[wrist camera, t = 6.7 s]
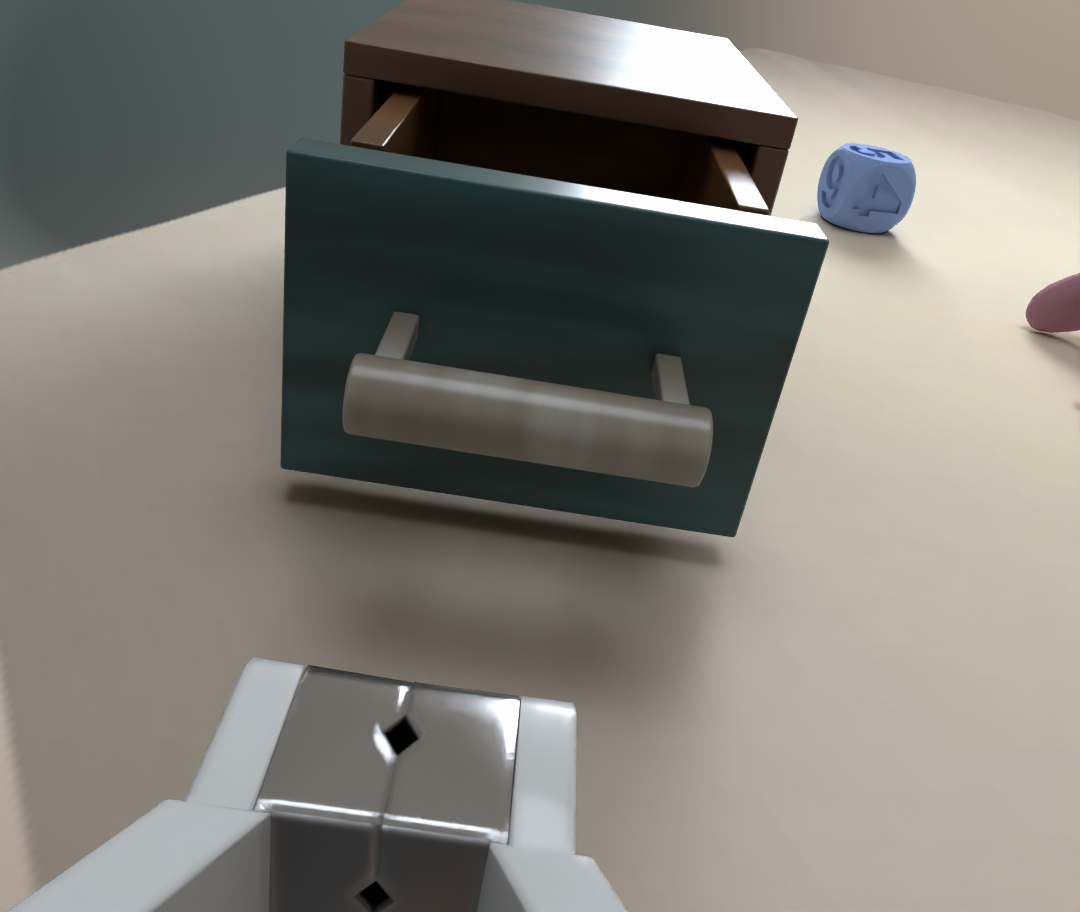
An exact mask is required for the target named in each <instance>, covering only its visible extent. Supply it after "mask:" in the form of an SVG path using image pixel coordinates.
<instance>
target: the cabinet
mask: <svg viewBox="0 0 1080 912" xmlns="http://www.w3.org/2000/svg"><path fill="white" fill-rule="evenodd" d="M343 72H344V74H345V75H344V77H343V95H342V114H341V138H340V144H342V145H348V146H350V141H351V139H352V138H353V137H354V136H355V135H356V134H357V133H358V132H359V131H360V129H361V128H362V127H363V126H364V125H365V124H366V123H367V122H368V121H369V119H370V118H371V117H372V116H373V115H374V114H375V113H376V112H377V111H378V110H379V108H380V107H381V106H382V105H383V104H384V103H385V102H386V101H387V100H388V99H389V97H390V96H391V95H392V94H393V93H394V92H395V91H396V90H397V89H398V88H399V86H400V85H401V84H406V85H412V86H418V87H424V88H430V89H436V90H442V91H447V92H453V93H459V94H465V95H471V96H477V97H483V98H488V99H494V100H500V101H506V102H512V103H518V104H524V105H529V106H535V107H541V108H547V109H553V110H559V111H565V112H570V113H576V114H582V115H588V116H594V117H600V118H606V119H611V120H617V121H623V122H629V123H635V124H641V125H647V126H652V127H658V128H664V129H670V130H676V131H682V132H688V133H693V134H699V135H705V136H711V137H717V138H723V139H728V140H731V142H732V143H733V145H734V147H735V149H736V151H737V152H738V154H739V156H740V158H741V160H742V162H743V163H744V165H745V167H746V169H747V171H748V172H749V174H750V176H751V178H752V180H753V181H754V183H755V185H756V187H757V189H758V191H759V192H760V194H761V196H762V198H763V200H764V201H765V203H766V205H767V207H768V209H769V212H770V213H769V216H771V212H772V209H773V205H774V202H775V198H776V195H777V191H778V188H779V184H780V181H781V177H782V174H783V170H784V167H785V163H786V159H787V156H788V149H789V148H790V146H791V142H792V139H793V135H794V132H795V128H796V125H797V121H798V118H797V117H796V116H795V114H794V113H793V112H792V111H791V110H790V109H789V108H788V107H787V105H786V104H785V103H784V102H783V101H782V100H781V99H780V98H779V96H778V95H777V94H776V93H775V92H774V91H773V90H772V88H771V87H770V86H769V85H768V84H767V83H766V82H765V81H764V79H763V78H762V77H761V76H760V75H759V74H758V73H757V71H756V70H755V69H754V68H753V67H752V66H751V65H750V64H749V62H748V61H747V60H746V59H745V58H744V57H743V56H742V55H741V53H740V52H739V51H738V50H737V49H736V48H735V47H734V46H733V44H732V43H731V42H730V41H729V40H728V39H727V38H720V37H715V36H709V35H704V34H698V33H691V32H686V31H681V30H675V29H669V28H664V27H658V26H652V25H647V24H641V23H635V22H629V21H624V20H618V19H612V18H606V17H601V16H595V15H590V14H583V13H578V12H573V11H567V10H561V9H555V8H550V7H544V6H538V5H532V4H527V3H521V2H515V1H510V0H405V1H404V2H402V3H401V4H399V5H398V6H397V7H395V8H393V9H392V10H390V11H389V12H387V13H386V14H384V15H383V16H381V17H380V18H378V19H377V20H375V21H374V22H372V23H371V24H369V25H368V26H366V27H365V28H363V29H361V30H360V31H358V32H357V33H355V34H354V35H352V36H351V37H349V38H348V39H347V40H345V45H344V67H343Z"/></svg>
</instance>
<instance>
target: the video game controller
mask: <svg viewBox="0 0 1080 912" xmlns="http://www.w3.org/2000/svg"><path fill="white" fill-rule="evenodd" d="M1026 318H1027V321H1028V323H1029V324H1030V326H1031V327H1032V328H1034V329H1036V330H1039V331H1045V332H1051V333H1052V332H1070V331H1077V330H1080V273H1078V274H1075V275H1072V276H1069V277H1067V278H1064V279H1062V280H1060V281H1057V282H1055V283H1052V284H1050V285H1048V286H1047V287H1045V288H1044V289H1043V290H1041V291H1040V292H1039V293H1037V294H1036V295H1035V296H1034V297H1033V298H1032V300H1031V302H1030V303H1029V305H1028V307H1027V310H1026Z"/></svg>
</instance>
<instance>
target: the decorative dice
mask: <svg viewBox="0 0 1080 912" xmlns="http://www.w3.org/2000/svg"><path fill="white" fill-rule="evenodd" d="M915 185H916V175H915V169H914V166H913V164H912V162H911V160H910V159H909V158H908V157H906V156H904V155H902V154H899V153H897V152H894V151H891V150H887V149H884V148H879V147H875V146H870V145H864V144H845V145H843V146H841V147H840V148H838V149H837V150H836V151H835V152H833V153H832V154H831V155H830V157H829V158H828V160H827V161H826V163H825V165H824V167H823V170H822V173H821V176H820V180H819V185H818V194H817V199H818V207H819V210H820V213H821V215H822V216H823V218H824V219H826V220H827V221H829V222H831V223H833V224H835V225H838V226H840V227H843V228H847V229H850V230H854V231H859V232H865V233H884V232H886V231H888V230H889V229H891V228H893V227H894V226H895V225H897V224H898V223H899V222H900V221H901V220H902V219H903V218H904V216H905V215H906V213H907V212H908V210H909V208H910V205H911V203H912V200H913V197H914V192H915Z"/></svg>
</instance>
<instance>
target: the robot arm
mask: <svg viewBox="0 0 1080 912" xmlns="http://www.w3.org/2000/svg"><path fill="white" fill-rule="evenodd" d="M576 728H577V711H576V709H575V707H574V704H573V703H570V702H563V701H555V700H548V699H540V698H532V697H525V696H521V697H520V699H519V697H518V696H516V695H508V694H501V693H493V692H486V691H478V690H471V689H463V688H456V687H448V686H441V685H433V684H426V683H418V682H414V683H412V682H406V681H400V680H394V679H389V678H383V677H377V676H371V675H365V674H359V673H353V672H347V671H341V670H335V669H329V668H323V667H317V666H311V665H308V666H303V665H298V664H292V663H286V662H280V661H274V660H269V659H263V658H257V657H252V658H251V660H250V661H249V662H248V663H247V664H246V665H245V666H244V668H243V669H242V671H241V673H240V675H239V678H238V680H237V682H236V684H235V687H234V689H233V691H232V693H231V696H230V698H229V700H228V702H227V705H226V707H225V709H224V712H223V714H222V716H221V718H220V721H219V723H218V725H217V727H216V730H215V732H214V734H213V736H212V739H211V741H210V743H209V745H208V748H207V750H206V752H205V755H204V757H203V759H202V761H201V764H200V766H199V768H198V770H197V773H196V775H195V777H194V779H193V782H192V784H191V786H190V789H189V791H188V793H187V795H186V798H185V800H184V801H179V800H169V799H166V800H164V801H163V802H162V803H160V804H159V805H157V806H156V807H155V808H153V809H152V810H150V811H149V812H148V813H146V814H145V815H143V816H142V817H140V818H139V819H138V820H136V821H135V822H133V823H132V824H131V825H129V826H128V827H126V828H125V829H123V830H122V831H121V832H119V833H118V834H116V835H115V836H114V837H112V838H111V839H109V840H108V841H107V842H105V843H104V844H102V845H101V846H99V847H98V848H97V849H95V850H94V851H92V852H91V853H90V854H88V855H87V856H85V857H84V858H82V859H81V860H80V861H78V862H77V863H75V864H74V865H73V866H71V867H70V868H68V869H67V870H66V871H64V872H63V873H61V874H60V875H58V876H57V877H56V878H54V879H53V880H51V881H50V882H49V883H47V884H46V885H44V886H43V887H41V888H40V889H39V890H37V891H36V892H34V893H33V894H32V895H30V896H29V897H27V898H26V899H25V900H23V901H22V902H20V903H19V904H17V905H16V906H15V907H13V908H12V909H10V910H9V911H8V912H628V911H627V909H626V908H625V906H624V905H623V903H622V902H621V900H620V899H619V897H618V896H617V894H616V893H615V891H614V890H613V888H612V887H611V885H610V884H609V882H608V881H607V879H606V878H605V876H604V875H603V873H602V872H601V870H600V868H599V867H598V865H597V864H596V862H595V861H594V859H593V858H592V857H587V856H581V855H576V854H575V831H576Z"/></svg>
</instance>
